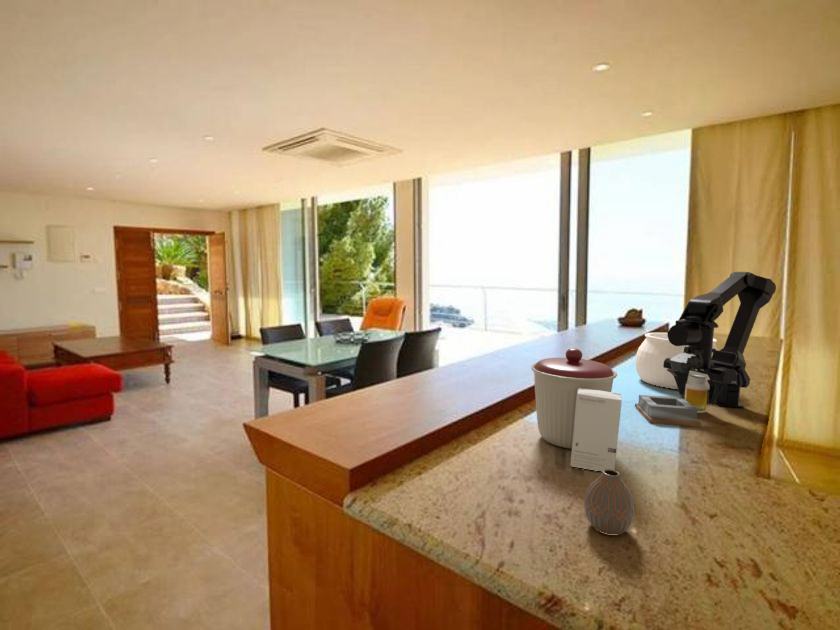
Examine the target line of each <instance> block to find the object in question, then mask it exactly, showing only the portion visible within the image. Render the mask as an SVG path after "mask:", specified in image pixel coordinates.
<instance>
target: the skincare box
mask: <svg viewBox="0 0 840 630" xmlns="http://www.w3.org/2000/svg"><path fill="white" fill-rule="evenodd" d="M621 411H622V394H621V393H619V392H612V391H611V392H606V391H601V390H592V389H584V388H578V392H577V400H576V409H575V422H574V432H573V442H572V449H571V454H570V463H569V464H570V467H571V466H572V467H578V468H585V469H591V470H597V471H603V470H605V469H611V470H615V468H616V459H617V451H618V450H617V449H618V439H619V433H620V432H619V431H620V429H619V428H620V422H621V421H620V420H621ZM572 467H571V468H572ZM578 468H577V469H578ZM615 471H616V470H615Z"/></svg>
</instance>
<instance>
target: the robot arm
mask: <svg viewBox="0 0 840 630" xmlns="http://www.w3.org/2000/svg"><path fill="white" fill-rule="evenodd" d="M776 291H777V285H776V283H775V282H773V280H772V279H771V278H767V277H764V276H760V275H758V274H757V275H756V274H755V273H752V272H750V271H734V272H731V273H730V275H729V277H727V278H726V279H725V280H724V281H723V282H720V284H718V285H717V286H715V287H714V288H713V289H712V290H711V291H709V292H708V293H704V294H700V295H696V296H695V297H693V298H691V299H690V300H689V301H688V302H687V305H685V308H684V309H683V311H682V313H681V314H680V316H679V318H678V320H675V324H674V325H672V326H671V327H670V328H669V329H668V331H667V333H668V340H669V341H670V343H671V344H673V345H675V346H686V345H688V347H685V348H684V352H683V353H682V354H679V355H677V356H675V357H673V358H666V359H665V361H664V364H663V367H664V368H668V369H667V371H669V372H670V373H671V374H672V375H673V376H674V378H675V381H676V384H677V387H678V393H679V395H680V396H683V395H684V396H685V386H686V384H687V380H688V375H689V371H690V370H691V371H695V372H699V373H703V374H707V375H708V377H709V378H710V380H707V382H708V383H709V385H710V388H709V390H708V391H709V392H708V404H709V405H713V404H716V405H718V406H719V407H728V408H729V407H731V408H745V405H743V404H742V403H740V395H741V388H748V387H749V385H750V383H751V378H750V376H749V374H748V372H747V371H746V366H747V362H746V360H745V357H744V352H745V348H746V347H747V344H748V341H749V338H750V336H751V333H752V330H753V328H754V325H755V323H756V320H757V317H758V315H759V312H760V309H762V308H764V307H765V306H766V305H767V304H769V303H770V301H771V299H772V297H773V295H774V294H775V293H776ZM736 296H737V297H738V301H739V302H740V303H739V306H738V309H737V312H736V314H735V316H734V320H733V322H732V325H731V327H730V331H729V333H728V335H727V338H726V340H725V343H724V345H723V347H722V348H721V349H718V350H719V351H718V350H716V349H714V348H712V346H713V338H714V333H715V329H717V328H719V324H718V323H717V322H716V321H717V319H718V318H719V317H720V316H721V314H722V313H723V312H724V306H725V305H726V304H727V303H728V302H730V301H731V300H732V299H733V298H734V297H736ZM712 353H713V355H712Z"/></svg>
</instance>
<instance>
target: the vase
mask: <svg viewBox="0 0 840 630" xmlns="http://www.w3.org/2000/svg"><path fill="white" fill-rule="evenodd" d="M634 501H635V500H634V497H633V495H632V492H631V490H630V489H629V488H628V486H627V485H626V483H625V482H624V480H623V478H622V476H621V473H620V472H619V471H617V470H611V469H605V470H603V471H602V473H601V472H600V475H599V476H598V477H596V478H595V479H594V480H593V481H592V482H591V483H590V484H589V485H588V487H587V489H586V491H585V494H584V502H583V503H584V504H583V505H584V508H583V509H584V512H585V516H586V517H585V518H586V519H587V521H588V523H589V524H590V526H591V527H592V528H593V527H594V528H595V529H597V530H599V531H601V532H604V533H607V534H620V535H622V534H624V533H625V532H627V531H628V530H629V529H630V527H631V526H632V523H633V522H634V521H633V520H634V517H635V508H636V507H635V502H634ZM594 528H593V529H594ZM595 529H594V530H595ZM597 530H596V531H597ZM621 533H622V534H621Z"/></svg>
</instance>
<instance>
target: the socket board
mask: <svg viewBox="0 0 840 630" xmlns="http://www.w3.org/2000/svg"><path fill="white" fill-rule="evenodd" d="M635 407H636V408H635ZM634 408H635V409H636V410H637V411H638V412H639V414H641V415H642V416H643V417H644V419H645V420H646V421H647V422H648V423H649V424H656V425H657V424H660V425H674V426H685V427H686V426H687V427H698V428H701V427H702V422H701V421H699V420H698V413H697V411H698V409H696V408H695V407H694V406H692V405H691V404H690V403H688V402H687V401H686V400H684V398H683V397H679V396H663V395H651V394H650V395H649V394H648V395H647V394H638V403H634Z"/></svg>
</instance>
